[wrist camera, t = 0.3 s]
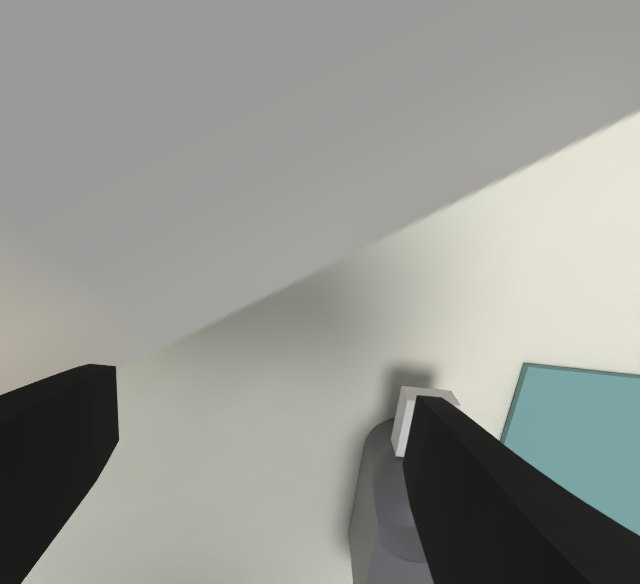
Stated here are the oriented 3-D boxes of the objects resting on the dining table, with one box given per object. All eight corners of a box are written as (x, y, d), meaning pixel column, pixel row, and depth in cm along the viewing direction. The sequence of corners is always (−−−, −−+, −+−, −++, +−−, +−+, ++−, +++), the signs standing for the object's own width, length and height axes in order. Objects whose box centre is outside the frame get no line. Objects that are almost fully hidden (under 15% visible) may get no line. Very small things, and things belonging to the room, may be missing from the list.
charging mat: (649, 602, 25) (655, 609, 24) (456, 587, 24) (458, 593, 24) (760, 388, 20) (768, 392, 20) (524, 363, 19) (528, 366, 19)
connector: (408, 558, 23) (431, 656, 19) (344, 553, 23) (351, 650, 18) (453, 372, 20) (497, 434, 15) (378, 365, 19) (398, 425, 15)
